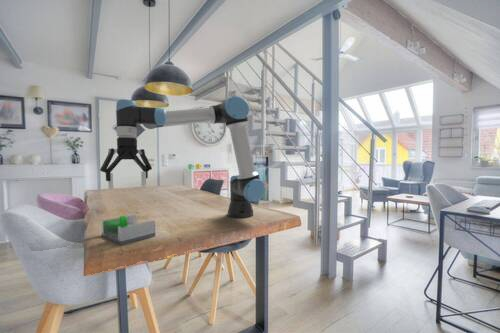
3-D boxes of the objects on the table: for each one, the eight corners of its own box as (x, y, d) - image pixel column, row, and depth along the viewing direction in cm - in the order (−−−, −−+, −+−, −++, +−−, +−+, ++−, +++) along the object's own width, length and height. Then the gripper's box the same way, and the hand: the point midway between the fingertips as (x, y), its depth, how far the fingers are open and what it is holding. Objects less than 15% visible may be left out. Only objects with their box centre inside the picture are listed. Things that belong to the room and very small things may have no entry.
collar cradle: (155, 236, 101) (155, 220, 101) (120, 245, 90) (120, 228, 90) (134, 228, 113) (134, 214, 113) (101, 235, 102) (101, 220, 102)
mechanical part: (138, 234, 98) (137, 215, 98) (121, 237, 95) (121, 217, 94) (133, 228, 108) (132, 210, 108) (118, 230, 104) (117, 212, 104)
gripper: (96, 134, 89) (98, 191, 89) (159, 138, 108) (160, 185, 109) (89, 136, 93) (91, 189, 94) (150, 139, 113) (151, 184, 113)
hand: (128, 187), depth 101 cm, fingers open, 13 cm apart
